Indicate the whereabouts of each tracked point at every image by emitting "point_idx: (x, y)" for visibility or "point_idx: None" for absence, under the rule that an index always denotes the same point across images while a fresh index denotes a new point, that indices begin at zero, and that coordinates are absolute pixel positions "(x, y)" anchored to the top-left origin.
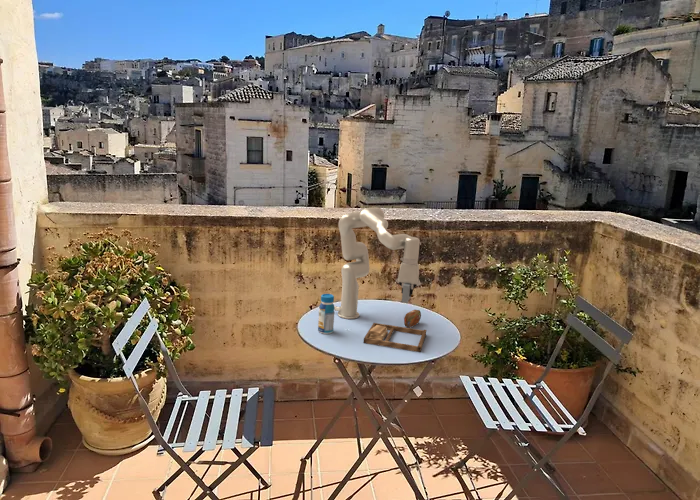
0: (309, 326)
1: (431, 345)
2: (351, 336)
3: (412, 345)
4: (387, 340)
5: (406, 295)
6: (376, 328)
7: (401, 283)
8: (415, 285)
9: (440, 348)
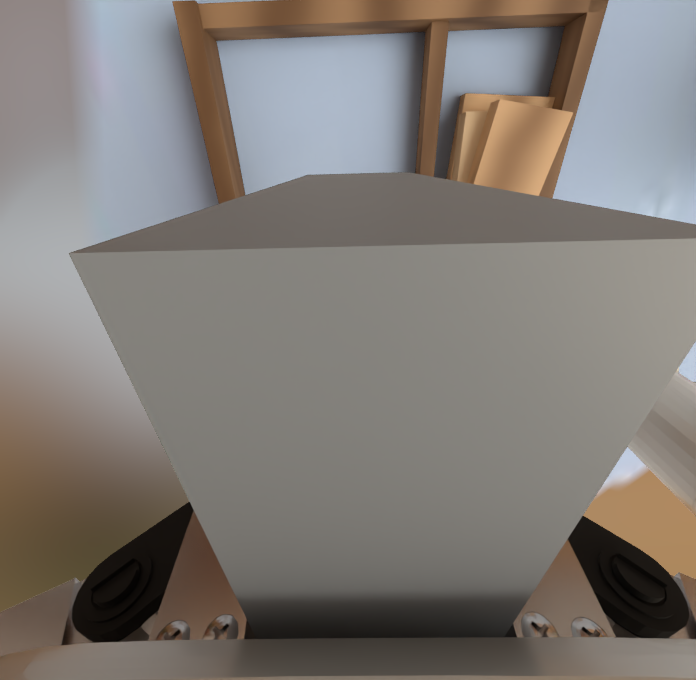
0: None
1: (180, 188)
2: (654, 100)
3: (241, 20)
4: (428, 65)
5: (327, 180)
6: (520, 182)
7: (587, 583)
8: (108, 590)
9: (119, 164)
